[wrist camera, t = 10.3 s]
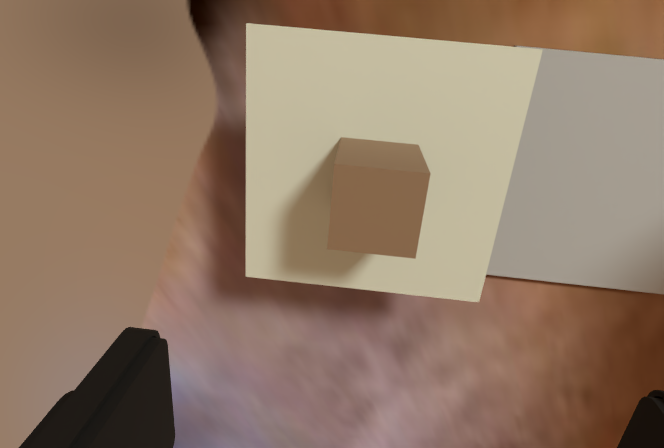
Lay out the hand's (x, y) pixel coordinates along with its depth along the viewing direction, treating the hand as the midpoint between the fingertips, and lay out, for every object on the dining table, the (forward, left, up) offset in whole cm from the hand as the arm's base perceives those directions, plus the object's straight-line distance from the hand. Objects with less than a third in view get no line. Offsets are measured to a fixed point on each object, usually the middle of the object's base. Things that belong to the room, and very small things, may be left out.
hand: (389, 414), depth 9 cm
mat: (-16, +1, -24) cm, 29 cm away
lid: (0, 0, -17) cm, 17 cm away
